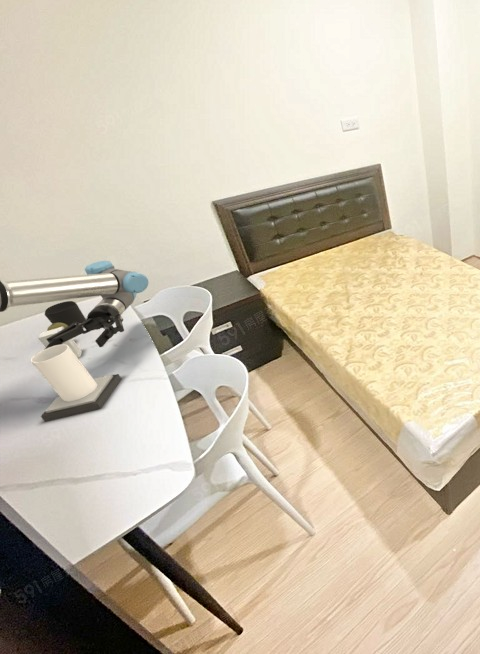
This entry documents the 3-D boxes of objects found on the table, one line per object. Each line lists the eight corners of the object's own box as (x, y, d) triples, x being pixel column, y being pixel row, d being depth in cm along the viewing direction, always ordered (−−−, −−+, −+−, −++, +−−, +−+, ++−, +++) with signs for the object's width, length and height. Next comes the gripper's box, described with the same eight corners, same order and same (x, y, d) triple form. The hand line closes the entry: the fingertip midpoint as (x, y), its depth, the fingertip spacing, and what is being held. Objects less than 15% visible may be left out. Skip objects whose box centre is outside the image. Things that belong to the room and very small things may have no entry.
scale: (44, 422, 120) (38, 414, 118) (71, 390, 131) (65, 383, 130) (101, 409, 123) (95, 401, 122) (122, 378, 135) (117, 371, 133)
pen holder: (95, 320, 167) (81, 300, 162) (75, 333, 159) (61, 313, 154) (72, 321, 167) (58, 301, 162) (51, 335, 159) (36, 314, 154)
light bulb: (62, 351, 149) (46, 330, 144) (57, 346, 152) (41, 326, 147) (81, 342, 154) (66, 321, 149) (75, 338, 156) (60, 318, 151)
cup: (62, 406, 121) (28, 366, 113) (63, 391, 126) (31, 353, 118) (97, 391, 125) (68, 353, 117) (97, 378, 131) (69, 340, 123)
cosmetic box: (82, 351, 149) (63, 325, 143) (80, 357, 146) (61, 331, 140) (60, 358, 146) (40, 332, 140) (58, 364, 143) (37, 338, 137)
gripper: (151, 314, 149) (125, 348, 131) (70, 329, 142) (31, 367, 125) (141, 297, 145) (113, 330, 128) (57, 312, 139) (16, 349, 121)
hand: (72, 348), depth 126 cm, fingers open, 13 cm apart
